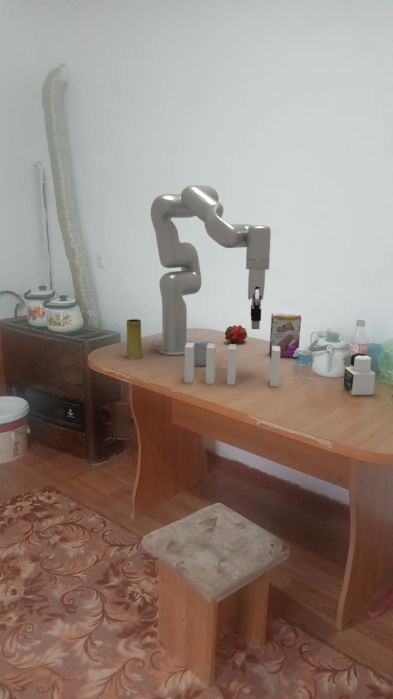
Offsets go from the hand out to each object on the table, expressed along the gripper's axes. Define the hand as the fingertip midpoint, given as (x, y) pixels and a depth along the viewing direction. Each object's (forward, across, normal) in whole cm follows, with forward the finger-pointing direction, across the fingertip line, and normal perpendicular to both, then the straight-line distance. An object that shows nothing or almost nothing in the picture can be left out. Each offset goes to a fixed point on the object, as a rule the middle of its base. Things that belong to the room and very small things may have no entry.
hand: (255, 318), depth 173 cm
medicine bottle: (+20, +13, +32) cm, 40 cm away
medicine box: (+20, -10, -19) cm, 29 cm away
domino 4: (+3, 0, 0) cm, 3 cm away
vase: (+20, -17, -45) cm, 52 cm away
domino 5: (+20, +8, +7) cm, 23 cm away
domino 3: (+20, +8, -7) cm, 23 cm away
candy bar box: (+20, -25, +12) cm, 35 cm away
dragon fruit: (+20, -44, -6) cm, 49 cm away
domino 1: (+20, +8, -21) cm, 30 cm away
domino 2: (+20, +8, -14) cm, 26 cm away
